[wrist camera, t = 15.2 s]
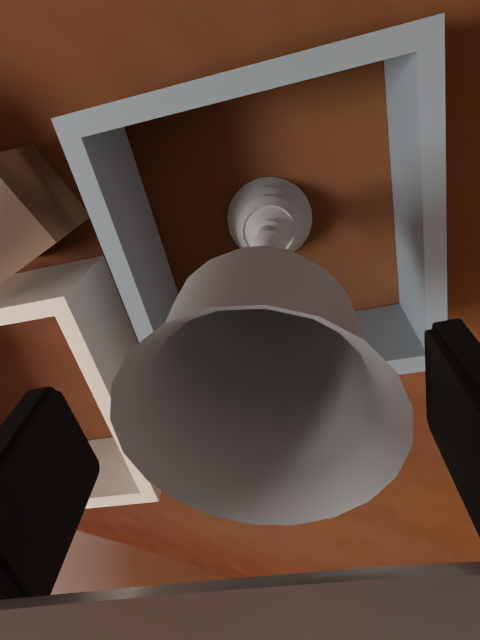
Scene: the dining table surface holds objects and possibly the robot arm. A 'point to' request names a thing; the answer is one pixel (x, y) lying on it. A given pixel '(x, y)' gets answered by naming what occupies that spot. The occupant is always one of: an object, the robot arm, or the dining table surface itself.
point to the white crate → (86, 354)
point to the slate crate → (387, 44)
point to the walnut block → (32, 208)
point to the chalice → (263, 382)
